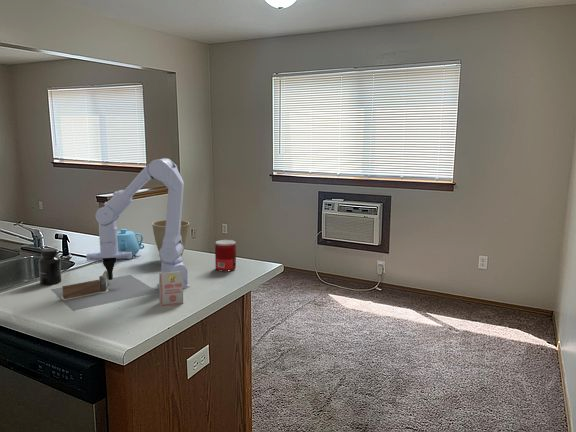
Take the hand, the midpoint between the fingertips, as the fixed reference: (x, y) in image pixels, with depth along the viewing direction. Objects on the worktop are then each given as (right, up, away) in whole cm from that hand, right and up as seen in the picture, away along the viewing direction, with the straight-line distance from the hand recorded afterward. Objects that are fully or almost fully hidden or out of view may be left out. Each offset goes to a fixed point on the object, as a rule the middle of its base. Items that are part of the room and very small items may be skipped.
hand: (110, 279), depth 161 cm
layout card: (+1, -3, -7) cm, 8 cm away
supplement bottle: (-21, -2, 0) cm, 21 cm away
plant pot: (+13, +3, +32) cm, 35 cm away
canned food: (+37, +1, +21) cm, 43 cm away
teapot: (-8, +5, +37) cm, 38 cm away
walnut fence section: (-4, -3, -11) cm, 12 cm away
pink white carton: (+25, -6, -16) cm, 31 cm away
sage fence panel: (-1, -1, -1) cm, 2 cm away
